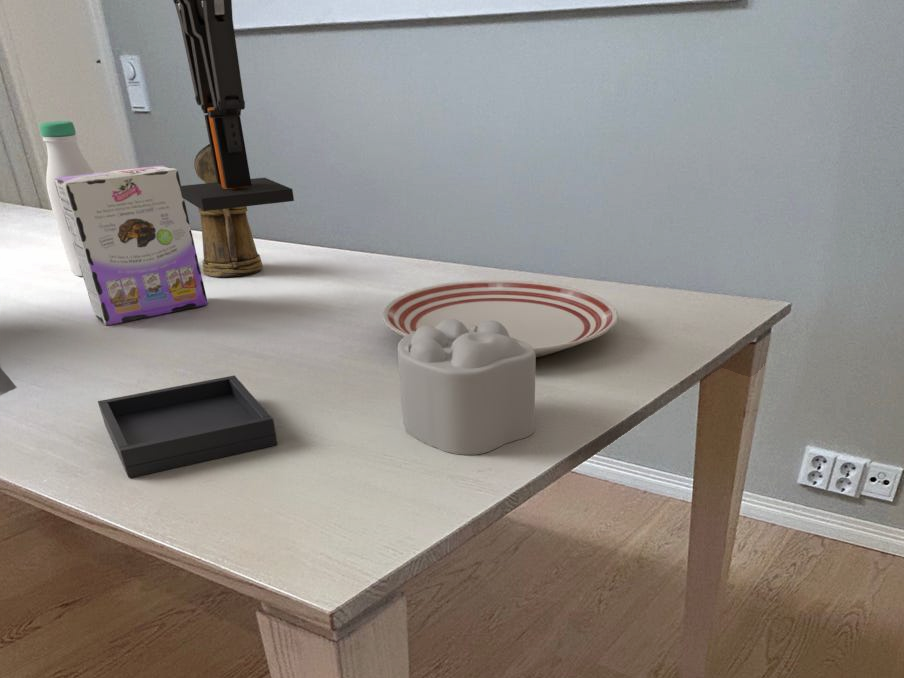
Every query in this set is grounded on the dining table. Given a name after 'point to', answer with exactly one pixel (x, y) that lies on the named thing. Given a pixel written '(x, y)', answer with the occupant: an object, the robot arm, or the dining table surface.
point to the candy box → (132, 242)
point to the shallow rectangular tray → (186, 425)
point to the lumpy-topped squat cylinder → (466, 386)
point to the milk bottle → (63, 175)
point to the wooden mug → (225, 232)
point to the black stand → (234, 190)
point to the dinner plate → (508, 311)
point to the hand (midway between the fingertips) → (234, 183)
